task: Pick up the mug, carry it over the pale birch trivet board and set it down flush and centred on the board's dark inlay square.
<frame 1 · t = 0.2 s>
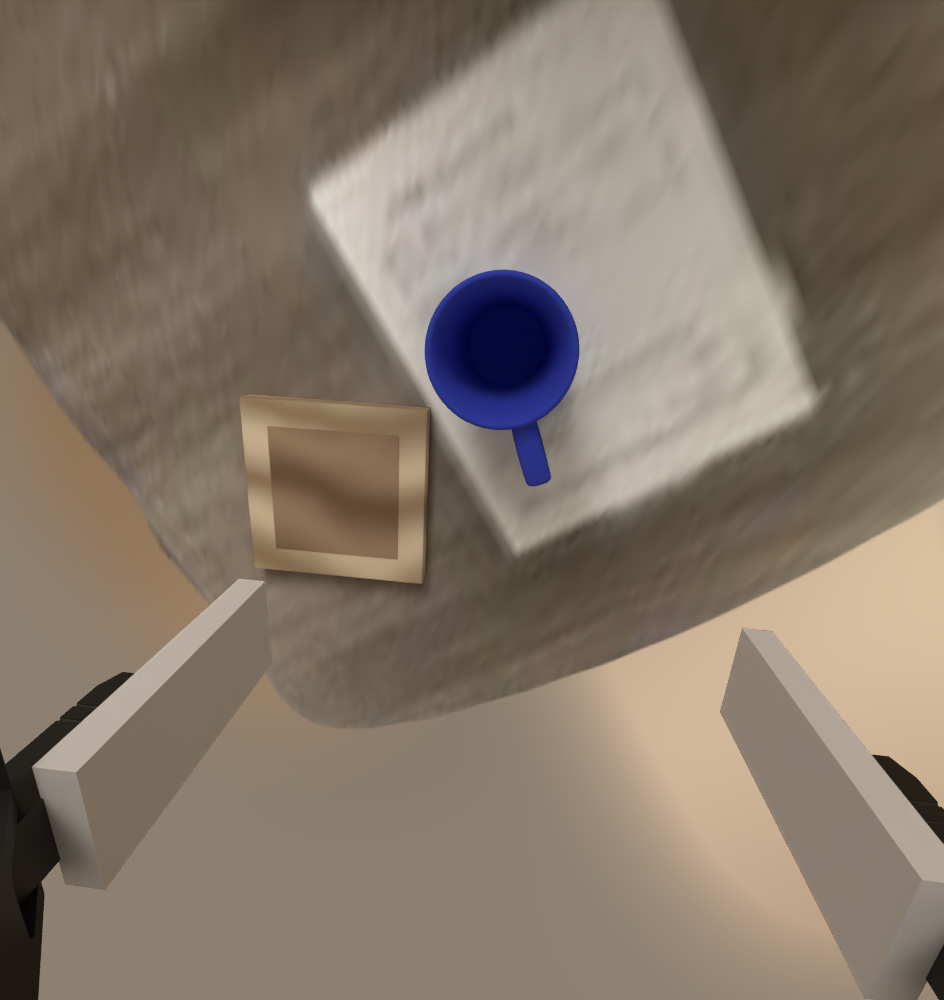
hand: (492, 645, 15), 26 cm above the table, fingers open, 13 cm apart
mug: (514, 371, 38), on the table
trivet: (341, 488, 42), on the table
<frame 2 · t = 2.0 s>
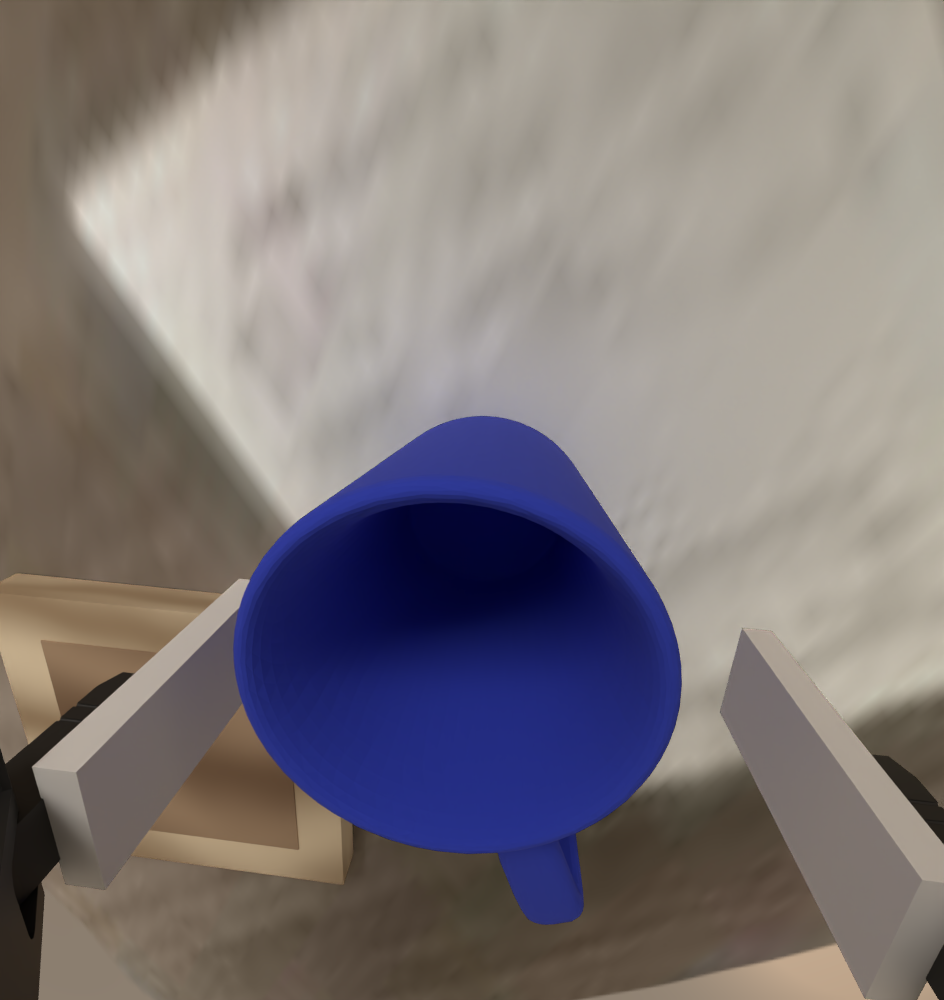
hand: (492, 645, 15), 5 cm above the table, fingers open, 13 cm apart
mug: (501, 549, 20), on the table
trivet: (198, 724, 24), on the table
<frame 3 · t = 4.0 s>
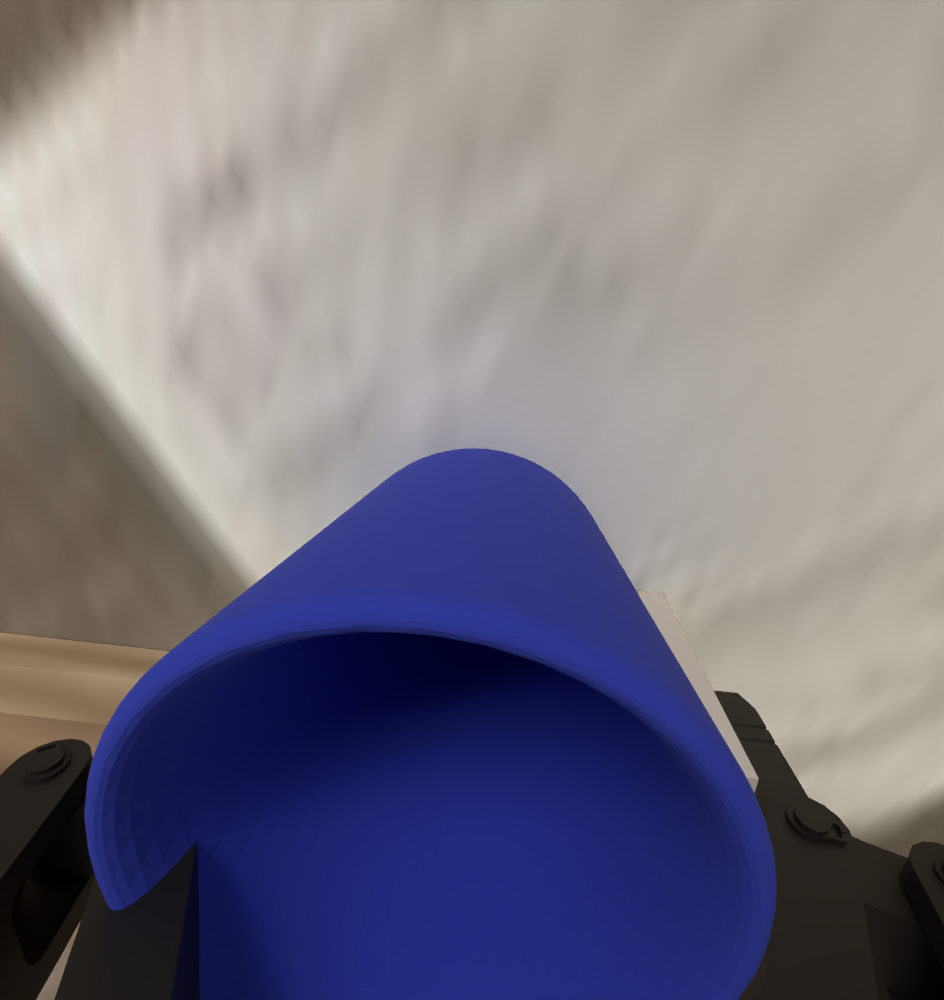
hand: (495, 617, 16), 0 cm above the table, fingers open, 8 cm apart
mug: (498, 603, 16), on the table, touching gripper
trivet: (144, 797, 20), on the table
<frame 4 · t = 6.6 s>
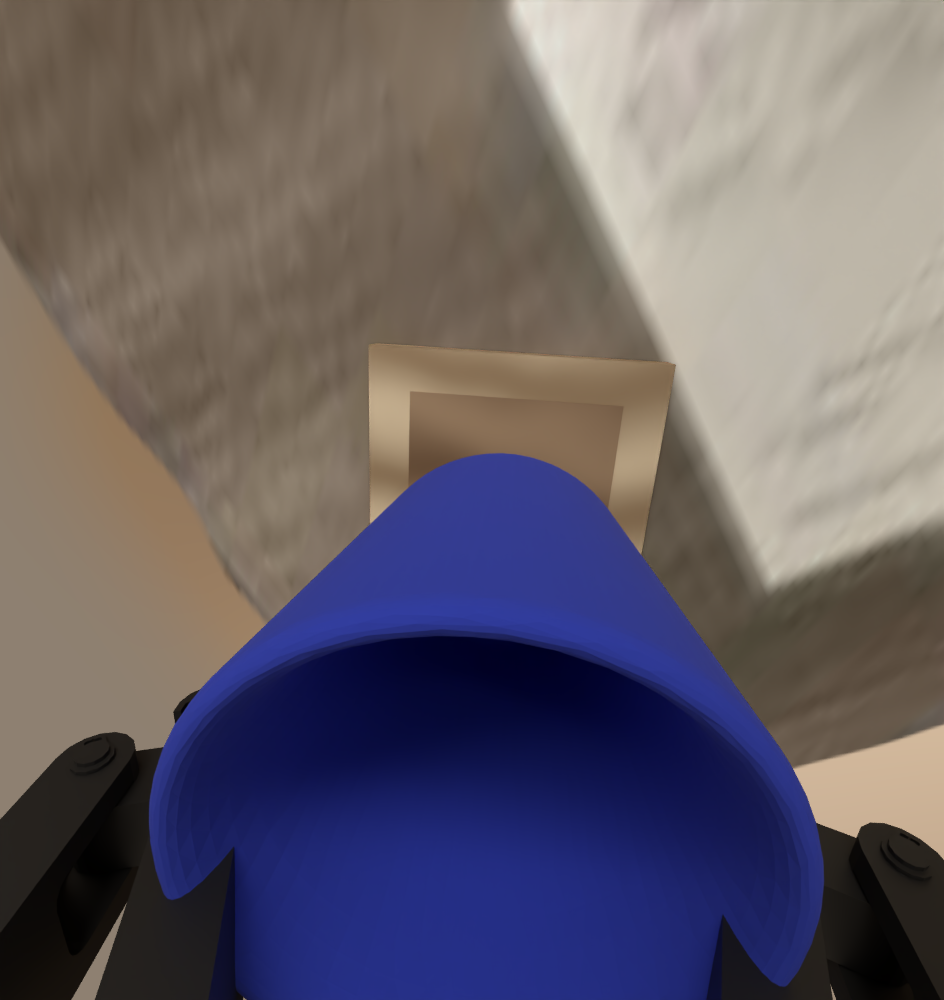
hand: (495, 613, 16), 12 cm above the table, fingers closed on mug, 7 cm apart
mug: (517, 605, 16), point 12 cm above the table, touching gripper
trivet: (507, 489, 28), on the table
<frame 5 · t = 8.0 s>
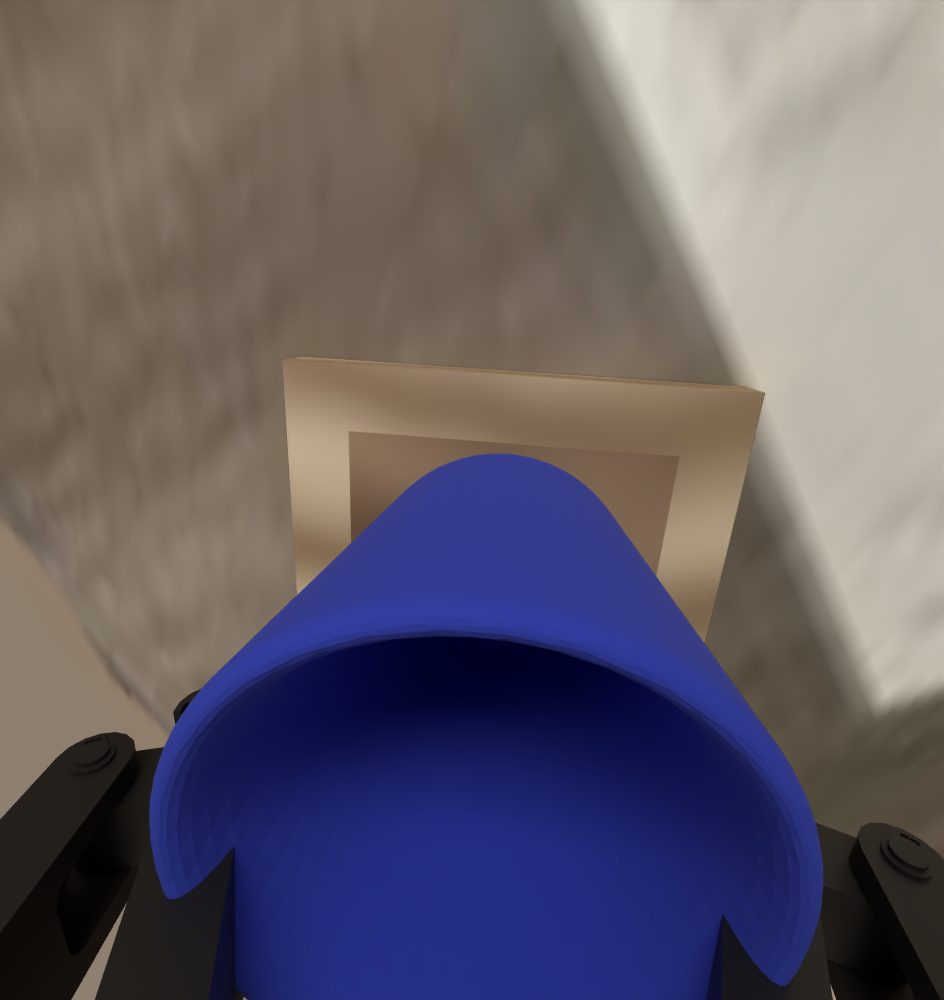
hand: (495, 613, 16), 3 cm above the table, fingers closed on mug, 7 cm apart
mug: (516, 605, 16), point 2 cm above the table, touching gripper
trivet: (500, 569, 19), on the table
when the fingers open (2 cm above the table, at t = 9.0 s): mug stays where it is, resting on trivet.
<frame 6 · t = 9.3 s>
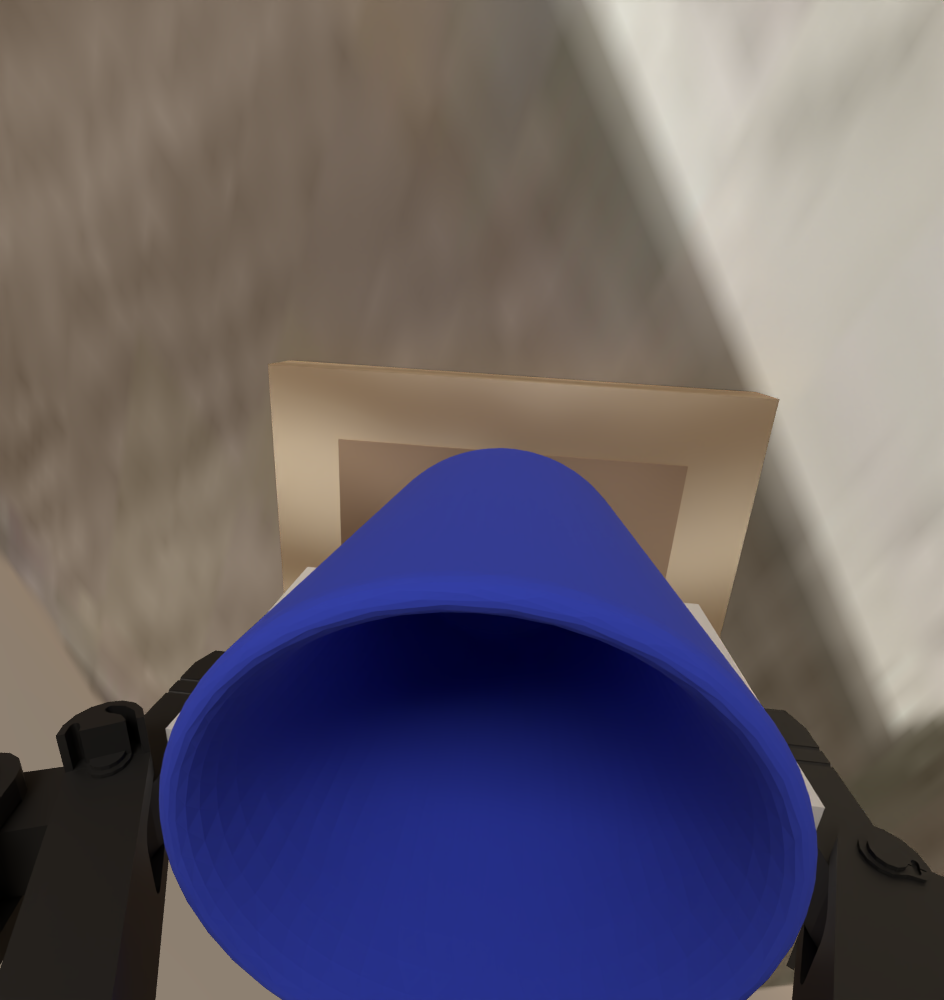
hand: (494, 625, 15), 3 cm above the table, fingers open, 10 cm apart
mug: (517, 600, 17), point 1 cm above the table, touching trivet
trivet: (498, 582, 18), on the table
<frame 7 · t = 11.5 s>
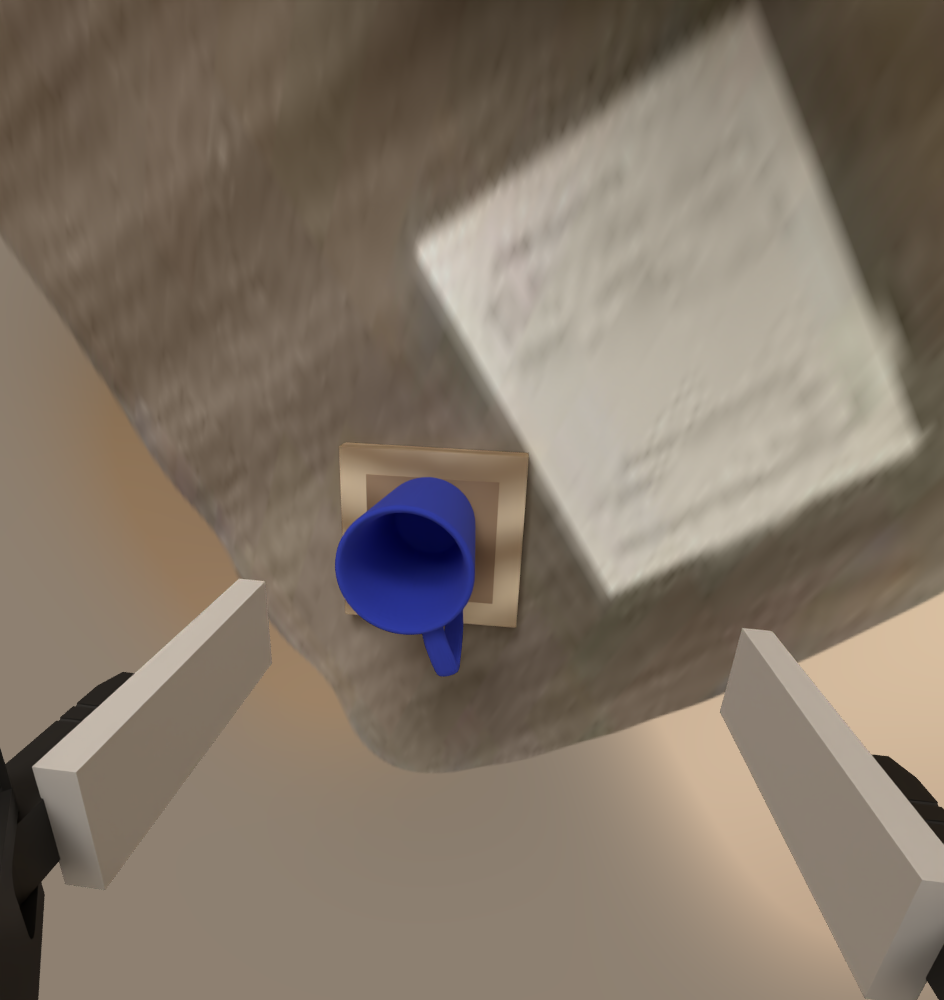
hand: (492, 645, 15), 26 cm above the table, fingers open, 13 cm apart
mug: (439, 538, 40), point 1 cm above the table, touching trivet
trivet: (434, 533, 42), on the table
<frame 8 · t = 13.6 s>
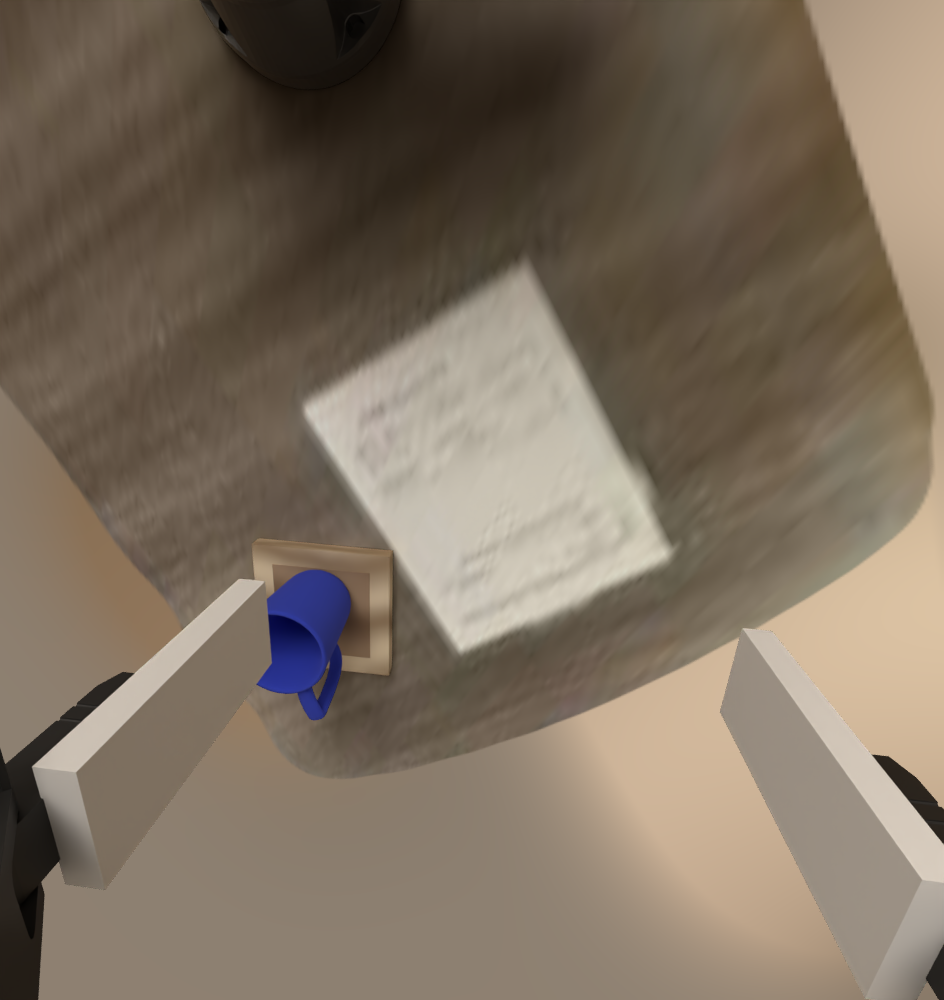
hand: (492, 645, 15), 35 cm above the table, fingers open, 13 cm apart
mug: (329, 610, 54), point 1 cm above the table, touching trivet
trivet: (327, 604, 55), on the table
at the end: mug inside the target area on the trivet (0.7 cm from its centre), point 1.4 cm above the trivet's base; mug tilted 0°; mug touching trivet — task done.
